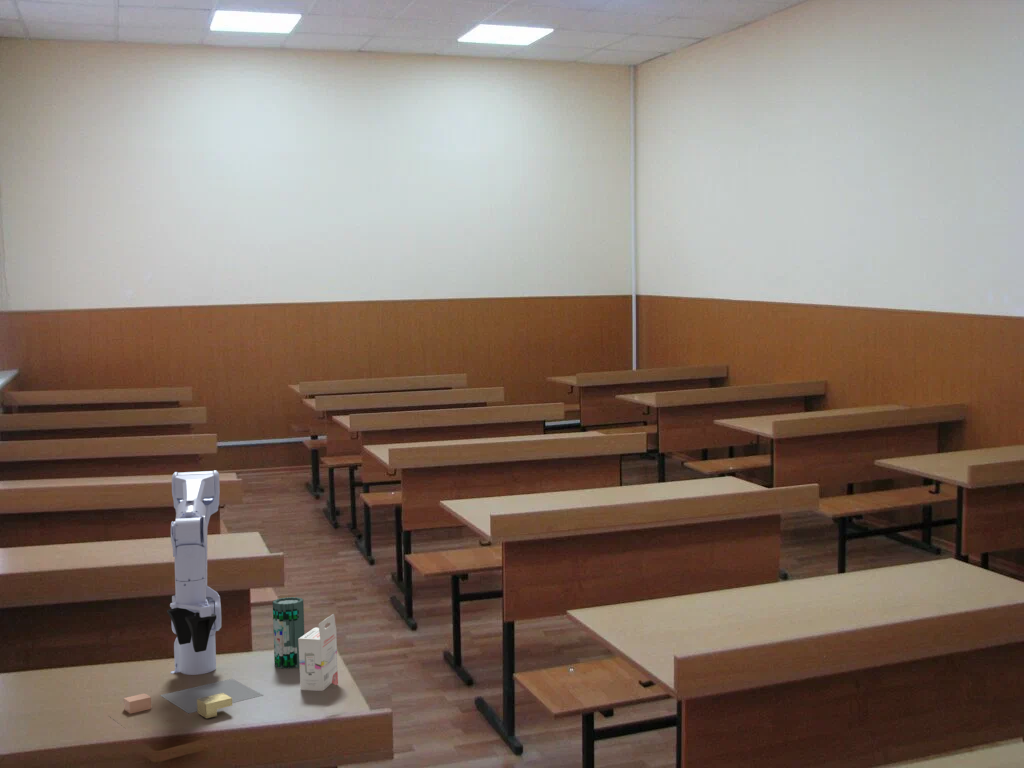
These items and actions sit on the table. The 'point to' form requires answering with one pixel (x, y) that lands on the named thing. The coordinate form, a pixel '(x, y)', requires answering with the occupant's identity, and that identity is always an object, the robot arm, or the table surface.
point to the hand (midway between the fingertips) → (192, 647)
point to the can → (287, 631)
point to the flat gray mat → (229, 687)
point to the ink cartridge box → (318, 657)
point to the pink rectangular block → (137, 703)
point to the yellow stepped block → (212, 704)
